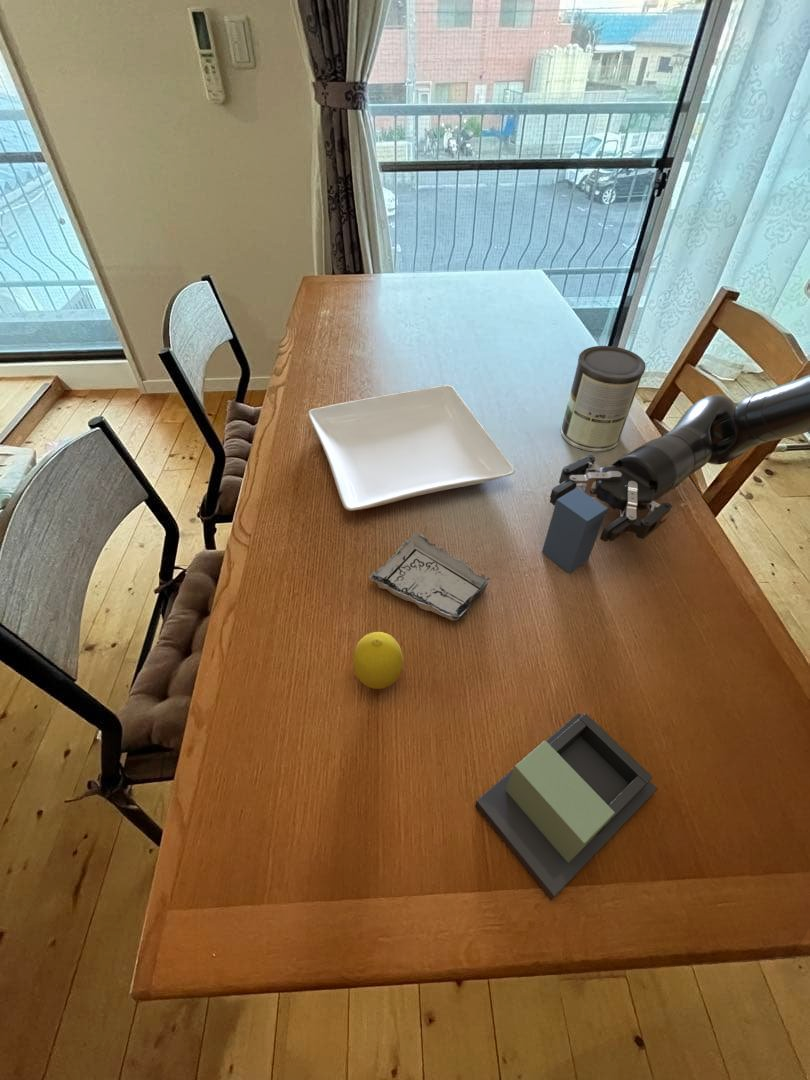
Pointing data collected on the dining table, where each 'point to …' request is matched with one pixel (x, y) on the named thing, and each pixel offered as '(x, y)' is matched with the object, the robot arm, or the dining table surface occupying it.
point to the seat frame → (566, 801)
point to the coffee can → (601, 397)
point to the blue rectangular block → (573, 529)
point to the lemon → (377, 660)
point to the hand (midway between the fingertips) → (577, 516)
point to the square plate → (405, 446)
